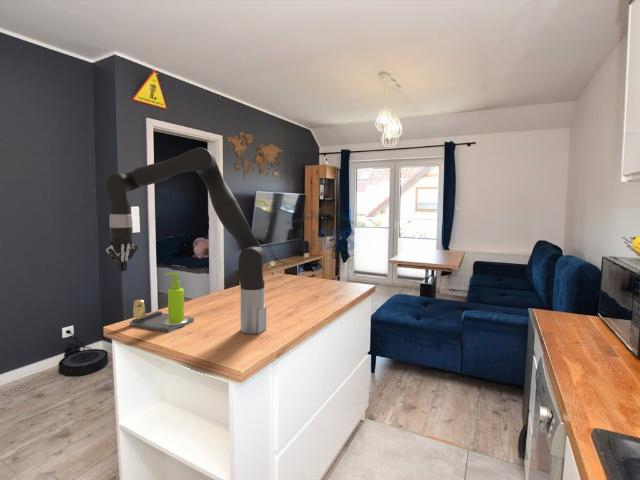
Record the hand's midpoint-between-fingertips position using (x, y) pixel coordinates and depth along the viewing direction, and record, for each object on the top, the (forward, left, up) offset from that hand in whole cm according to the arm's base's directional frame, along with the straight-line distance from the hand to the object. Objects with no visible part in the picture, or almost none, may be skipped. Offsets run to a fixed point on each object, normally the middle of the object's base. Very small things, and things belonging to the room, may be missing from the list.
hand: (122, 271), depth 132 cm
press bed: (-8, -11, -23) cm, 27 cm away
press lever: (0, -7, -20) cm, 22 cm away
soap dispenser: (-14, -12, -22) cm, 28 cm away
